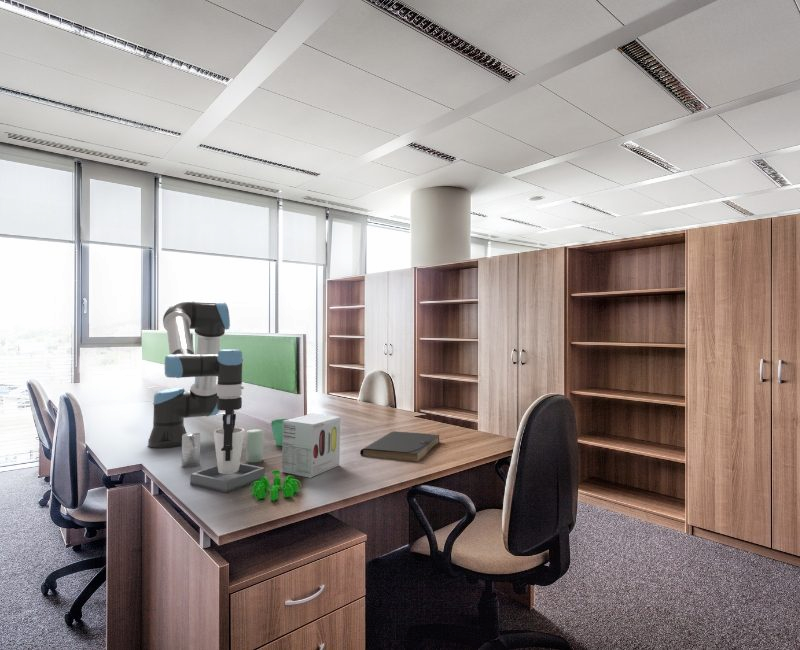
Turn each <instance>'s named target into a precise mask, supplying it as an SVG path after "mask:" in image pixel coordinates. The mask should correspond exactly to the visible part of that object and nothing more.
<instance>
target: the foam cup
mask: <svg viewBox="0 0 800 650" xmlns="http://www.w3.org/2000/svg"><path fill="white" fill-rule="evenodd" d="M244 438H245V429H244V428H242V427H234V429H233V433H232V447H233V462H232V471H223V451H221V448H223V447H224V429H223V427H222V428H217V429H214V430H213V440H214V447H215V455H216V456H215V457H216V463H217V464H216V465H217V466H218V472H219V473H222V474H230V473H234V472H237V471H239V466H240V463H241V458H242V450H243V443H244ZM226 446H230V445H226Z"/></svg>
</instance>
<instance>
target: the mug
mask: <svg viewBox="0 0 800 650" xmlns="http://www.w3.org/2000/svg"><path fill="white" fill-rule="evenodd" d="M288 419H289V418H278V419H272V420H271V422H270V424H271V429H272V433H273V434H272V435H273V438H274V441H275V444H276V446H277V447H282V441H283V421H284V420H288Z"/></svg>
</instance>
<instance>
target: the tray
mask: <svg viewBox="0 0 800 650" xmlns="http://www.w3.org/2000/svg"><path fill="white" fill-rule="evenodd" d="M265 470H266V468H265V467H262V466H257V465H252V464H247V463H242V462H240V466H239V471H237V472H234V473H230V474H222V473H219V472H218V466H217V464H216V465H212V466H210V467H208V468H207V467H206V468H203V469H200V470H197V471H195V472H192V473H190V476H189V477H190V479H189V480H190V486H195V487H198V488H202V489H206V490H211V491H214V492H219V493H222V494H228V493H231V492H234V491H237V490H238V489H241V488H244V487H246V486H249V485H251V484H252V483H253V482H255V481H259V480H260V478H261V477H266V476H265V474H266V471H265ZM261 480H262V479H261ZM253 484H254V483H253ZM253 484H252V485H253Z"/></svg>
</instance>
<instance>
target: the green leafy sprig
mask: <svg viewBox="0 0 800 650" xmlns="http://www.w3.org/2000/svg"><path fill="white" fill-rule="evenodd" d="M280 473H281V470H279V469H278V470H276V469H275V470H272V471H271V474H272V475H274V478H273V485H270V482H269V480H268V477H266V476H265V477H261V478H260V480H259V481H255V482H253V483H252V484H250V486H249V493H250V494H251V495H252V496H254V497H255V499H256V500H258V501H260V500H261V499H265V498H266V497H267V495H268V491H270V495H269V496H270V497H269V499H270V500H271V501H272V502H275V501H276V500H278V498H279V490H281V491H282V495H283V496H284V497H285V498H289V499H291V498H292V497H293V496H294V493H295V494H297V493H299V492H300V491H301V489H302V483H301V482H300V481H299V480H298V479H296V478H295V476H294V475H292V474H290V475H287V476H286V477H285V479H284V480H283V484H282V483H281V476H279V474H280ZM261 479H262V480H261ZM298 483H299V485H300V486H299V488H298ZM252 485H253V487H252ZM251 488H252V489H253V492H252V489H251Z"/></svg>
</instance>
